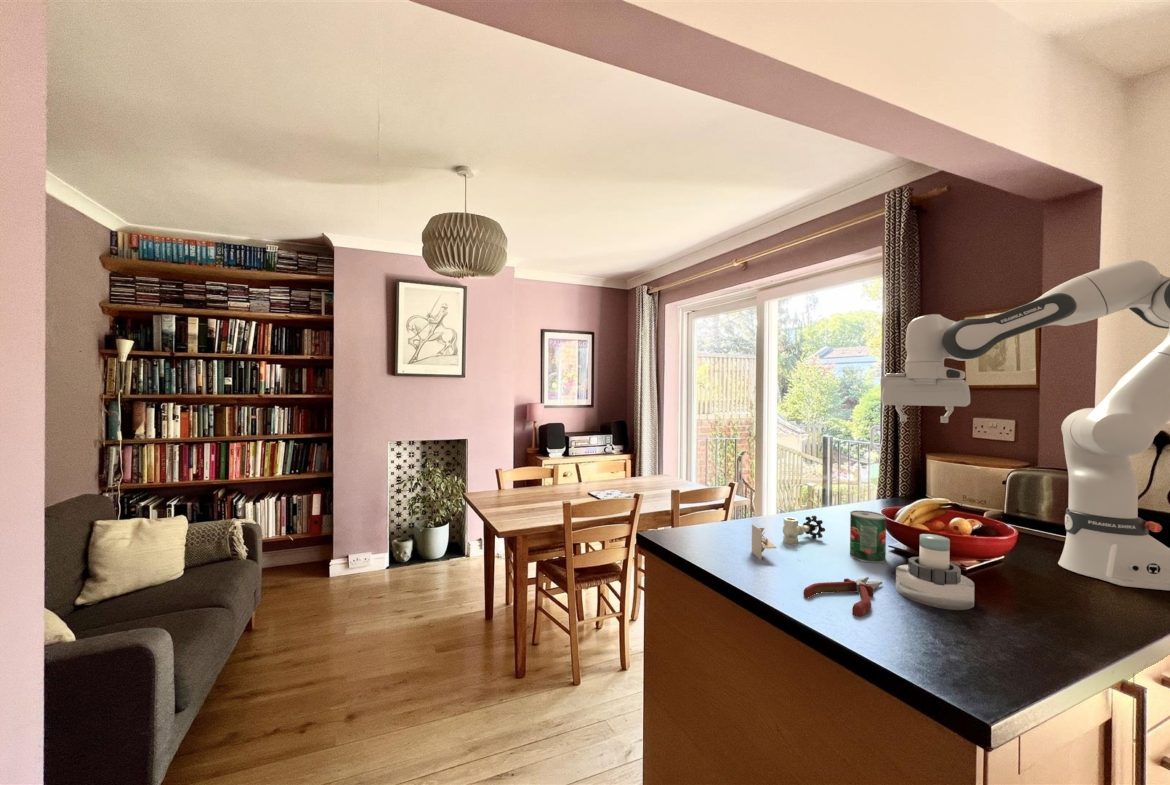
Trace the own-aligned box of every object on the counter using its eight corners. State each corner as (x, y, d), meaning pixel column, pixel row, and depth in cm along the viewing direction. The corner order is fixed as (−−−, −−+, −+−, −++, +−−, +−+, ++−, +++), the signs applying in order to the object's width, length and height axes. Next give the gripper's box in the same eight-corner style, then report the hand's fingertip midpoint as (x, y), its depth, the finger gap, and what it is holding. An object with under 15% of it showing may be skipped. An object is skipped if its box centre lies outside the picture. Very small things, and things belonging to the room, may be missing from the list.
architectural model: (764, 552, 122) (764, 523, 122) (776, 561, 115) (776, 531, 115) (751, 552, 122) (751, 524, 122) (762, 562, 115) (763, 531, 115)
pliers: (904, 594, 98) (904, 582, 98) (859, 621, 86) (860, 607, 86) (848, 577, 107) (848, 565, 107) (800, 599, 96) (800, 586, 96)
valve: (795, 547, 126) (825, 541, 132) (795, 523, 126) (825, 518, 132) (775, 540, 132) (805, 535, 138) (776, 517, 132) (805, 512, 138)
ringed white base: (960, 585, 102) (960, 553, 102) (983, 615, 88) (983, 578, 88) (889, 574, 108) (890, 544, 108) (901, 601, 94) (901, 566, 94)
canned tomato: (893, 563, 115) (893, 518, 115) (860, 562, 115) (861, 518, 115) (873, 552, 123) (874, 510, 123) (843, 551, 123) (844, 510, 123)
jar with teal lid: (945, 574, 98) (946, 536, 98) (952, 582, 93) (952, 542, 93) (917, 569, 100) (917, 532, 100) (921, 578, 95) (922, 539, 95)
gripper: (882, 372, 133) (881, 421, 133) (972, 372, 124) (972, 424, 124) (879, 373, 139) (878, 420, 139) (965, 373, 130) (965, 422, 130)
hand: (923, 422), depth 131 cm, fingers open, 8 cm apart
